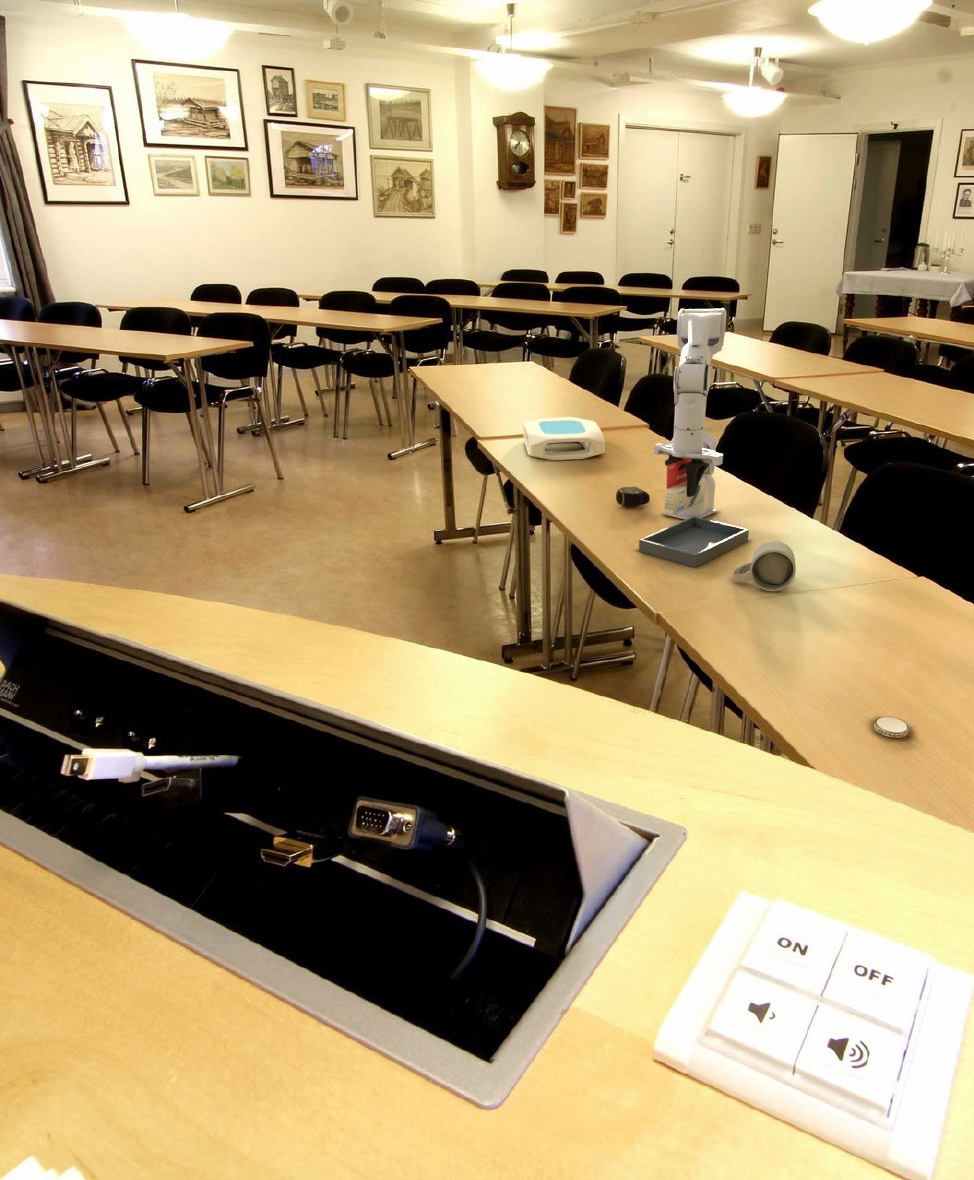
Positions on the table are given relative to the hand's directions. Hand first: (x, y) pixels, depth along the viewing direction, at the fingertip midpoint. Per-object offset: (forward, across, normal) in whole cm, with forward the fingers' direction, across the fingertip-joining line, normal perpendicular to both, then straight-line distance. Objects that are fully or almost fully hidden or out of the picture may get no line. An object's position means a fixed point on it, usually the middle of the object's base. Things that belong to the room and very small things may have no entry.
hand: (685, 494), depth 168 cm
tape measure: (+11, -23, +14) cm, 29 cm away
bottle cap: (+10, +59, -40) cm, 72 cm away
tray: (+10, +3, 0) cm, 11 cm away
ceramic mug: (+10, +23, -8) cm, 26 cm away
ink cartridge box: (+3, 0, 0) cm, 3 cm away
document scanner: (+11, -72, +44) cm, 85 cm away
